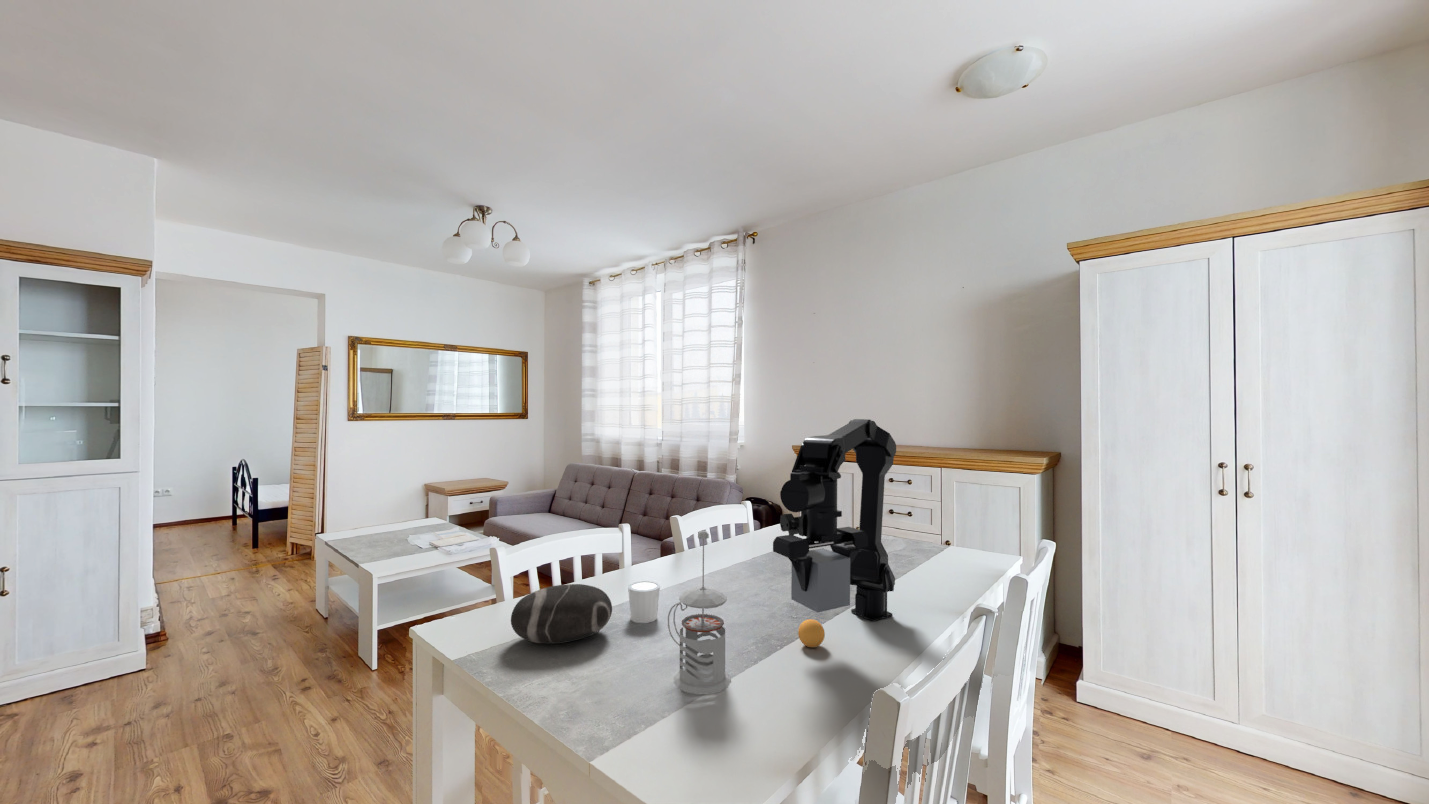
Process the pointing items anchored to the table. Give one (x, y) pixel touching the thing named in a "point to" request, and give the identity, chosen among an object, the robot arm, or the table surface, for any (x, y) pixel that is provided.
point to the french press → (701, 641)
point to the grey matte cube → (824, 582)
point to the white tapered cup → (643, 601)
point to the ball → (811, 633)
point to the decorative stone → (561, 613)
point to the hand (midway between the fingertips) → (821, 587)
